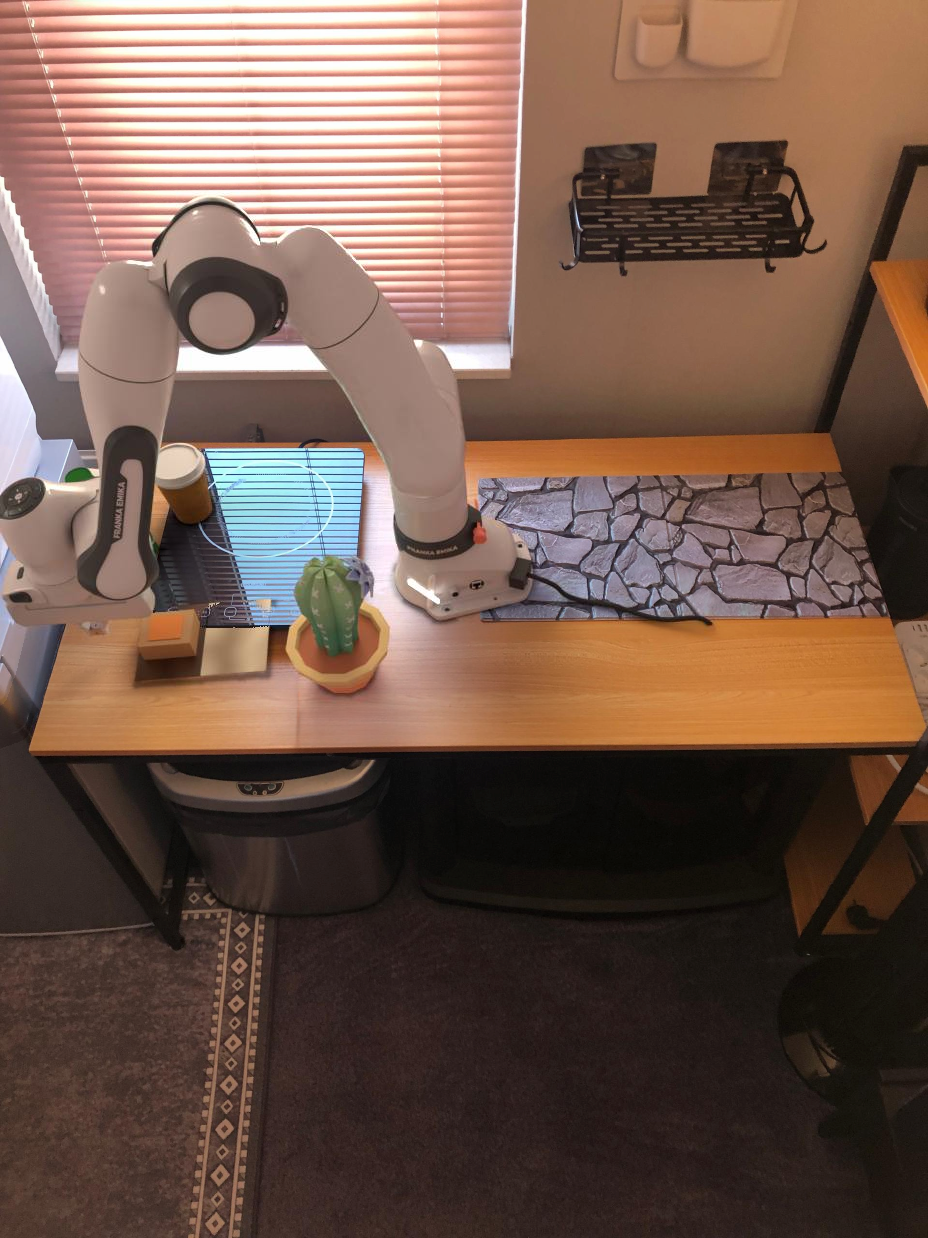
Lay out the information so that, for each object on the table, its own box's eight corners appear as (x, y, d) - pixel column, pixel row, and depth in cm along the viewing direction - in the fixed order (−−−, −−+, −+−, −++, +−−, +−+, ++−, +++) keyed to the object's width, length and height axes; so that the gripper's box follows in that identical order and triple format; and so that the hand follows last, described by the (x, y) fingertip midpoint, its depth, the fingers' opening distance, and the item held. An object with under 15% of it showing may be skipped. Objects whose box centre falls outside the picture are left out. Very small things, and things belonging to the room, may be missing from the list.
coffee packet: (200, 622, 150) (194, 608, 147) (196, 656, 146) (189, 642, 143) (149, 626, 150) (142, 612, 147) (144, 660, 146) (136, 647, 143)
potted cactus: (376, 722, 139) (352, 621, 119) (279, 699, 142) (240, 596, 122) (409, 639, 147) (392, 531, 127) (318, 618, 150) (287, 510, 130)
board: (272, 602, 153) (271, 598, 152) (267, 675, 144) (265, 670, 144) (149, 612, 153) (146, 608, 152) (137, 685, 144) (134, 681, 144)
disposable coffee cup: (216, 530, 163) (197, 480, 153) (162, 531, 163) (139, 481, 154) (225, 490, 169) (207, 439, 159) (172, 491, 169) (151, 441, 159)
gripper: (142, 552, 136) (170, 610, 147) (-1, 562, 135) (38, 620, 147) (135, 586, 132) (165, 643, 143) (-11, 597, 132) (29, 654, 143)
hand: (99, 632), depth 145 cm, fingers closed
